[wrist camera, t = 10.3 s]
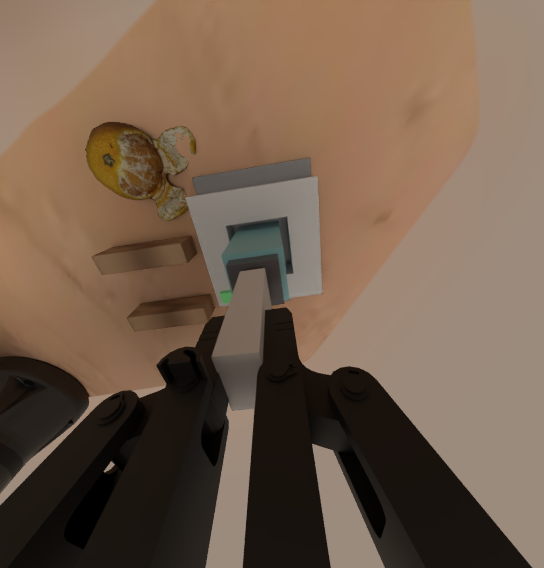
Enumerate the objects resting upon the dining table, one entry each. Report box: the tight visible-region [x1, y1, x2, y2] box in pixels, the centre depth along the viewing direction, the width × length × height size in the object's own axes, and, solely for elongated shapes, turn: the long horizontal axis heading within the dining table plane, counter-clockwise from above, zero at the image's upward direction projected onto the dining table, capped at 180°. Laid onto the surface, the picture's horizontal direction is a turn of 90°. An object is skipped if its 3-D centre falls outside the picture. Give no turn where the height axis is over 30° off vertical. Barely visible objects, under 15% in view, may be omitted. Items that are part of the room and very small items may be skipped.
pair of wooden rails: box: [92, 236, 215, 331], centre depth 23 cm, size 9×9×3 cm
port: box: [186, 158, 322, 307], centre depth 21 cm, size 11×14×4 cm
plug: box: [221, 221, 290, 305], centre depth 18 cm, size 4×4×10 cm
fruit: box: [85, 122, 196, 221], centre depth 18 cm, size 8×8×4 cm
